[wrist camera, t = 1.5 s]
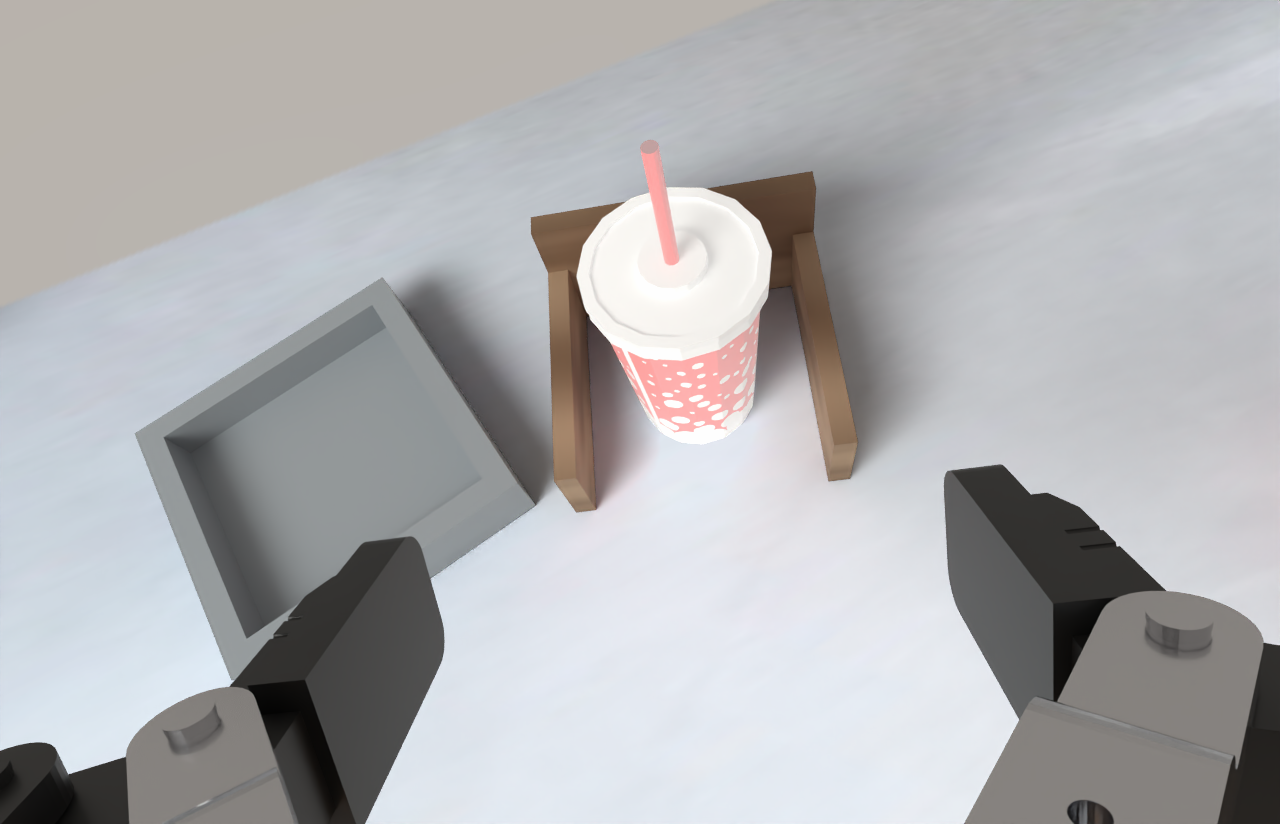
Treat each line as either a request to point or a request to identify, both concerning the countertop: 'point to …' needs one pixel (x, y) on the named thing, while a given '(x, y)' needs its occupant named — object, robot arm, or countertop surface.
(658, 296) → the beverage cup
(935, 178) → the countertop surface
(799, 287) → the walnut bay
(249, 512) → the grey tray
